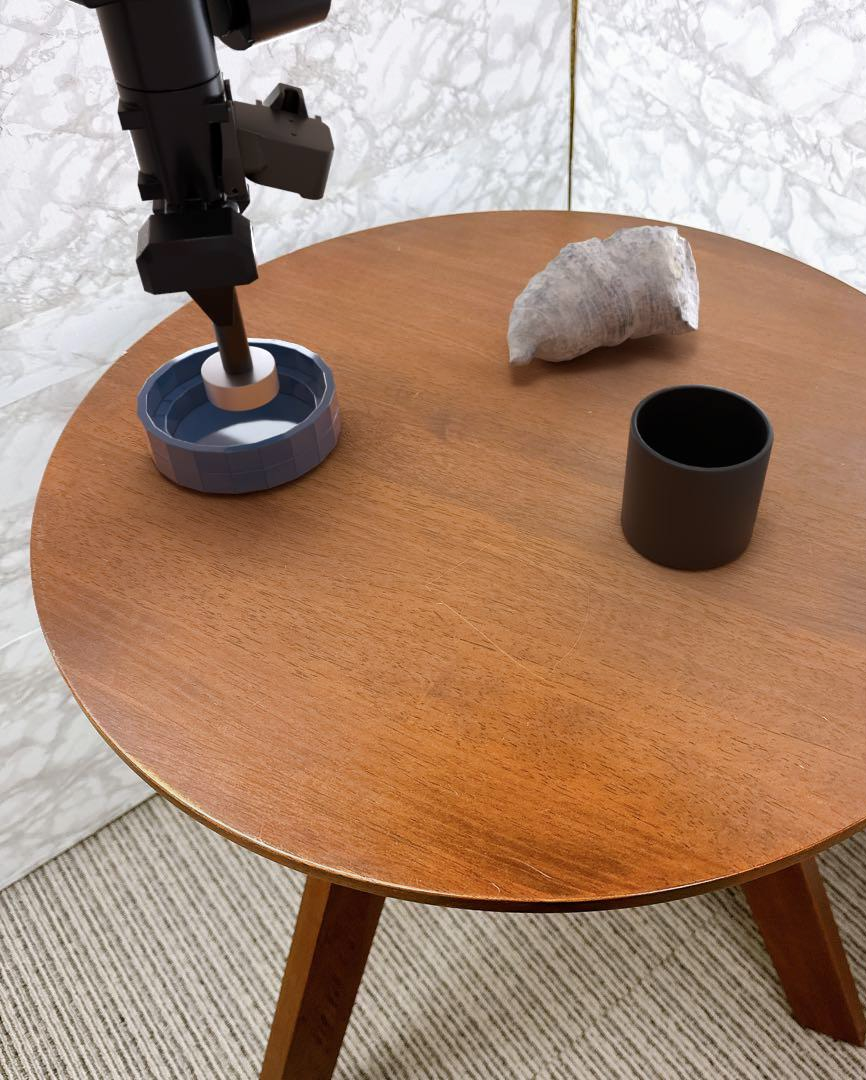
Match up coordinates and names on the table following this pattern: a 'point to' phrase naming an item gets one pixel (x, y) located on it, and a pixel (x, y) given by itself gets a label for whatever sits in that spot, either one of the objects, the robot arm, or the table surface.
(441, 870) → the table surface
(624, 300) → the seashell
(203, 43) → the robot arm
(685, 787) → the table surface
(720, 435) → the black cup
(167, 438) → the bowl
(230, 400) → the paper towel holder
